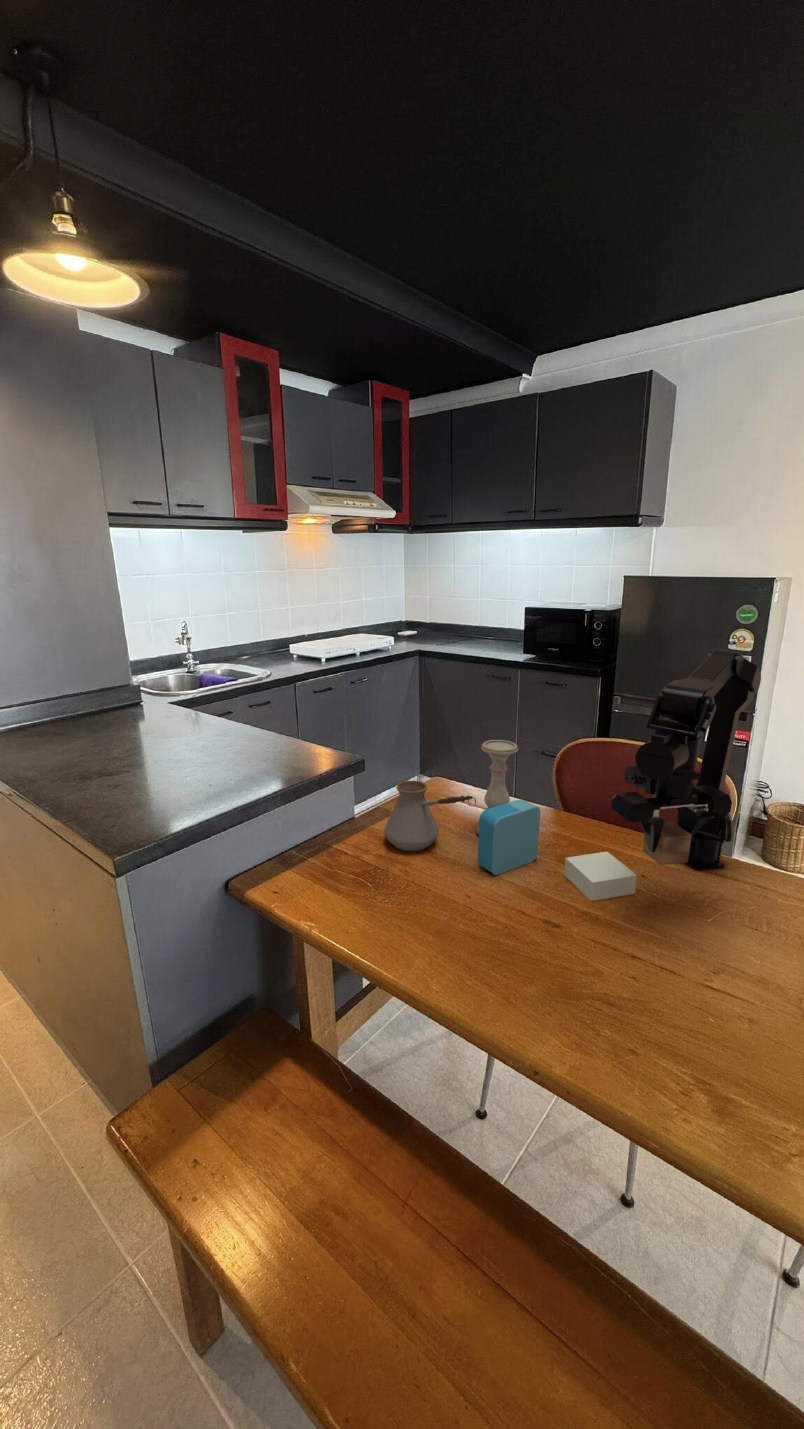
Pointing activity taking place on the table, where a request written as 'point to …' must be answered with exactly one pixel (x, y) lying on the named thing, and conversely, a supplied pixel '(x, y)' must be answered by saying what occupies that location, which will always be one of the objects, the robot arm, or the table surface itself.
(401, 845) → the coffee pot
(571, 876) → the base block
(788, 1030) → the table surface
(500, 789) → the candle holder
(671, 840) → the walnut cube
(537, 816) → the blue rounded slab
